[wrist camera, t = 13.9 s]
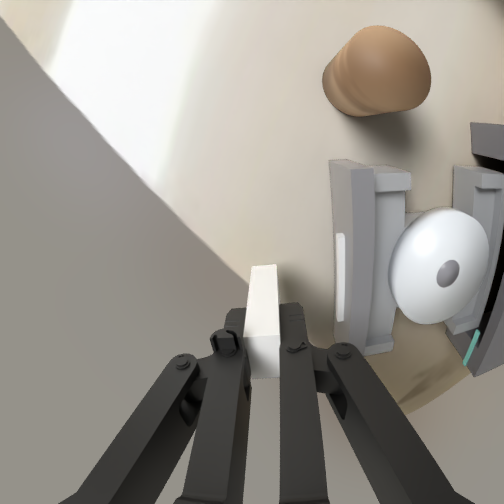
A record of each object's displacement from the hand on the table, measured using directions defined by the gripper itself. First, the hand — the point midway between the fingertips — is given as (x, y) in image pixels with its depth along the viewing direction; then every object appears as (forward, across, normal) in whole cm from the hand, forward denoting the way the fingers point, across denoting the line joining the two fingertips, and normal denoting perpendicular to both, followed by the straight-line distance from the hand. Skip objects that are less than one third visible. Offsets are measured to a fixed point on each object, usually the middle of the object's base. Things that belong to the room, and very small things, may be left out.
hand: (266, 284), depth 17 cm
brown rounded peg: (+3, +7, +12) cm, 14 cm away
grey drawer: (+3, +11, 0) cm, 11 cm away
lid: (0, +12, 0) cm, 12 cm away
